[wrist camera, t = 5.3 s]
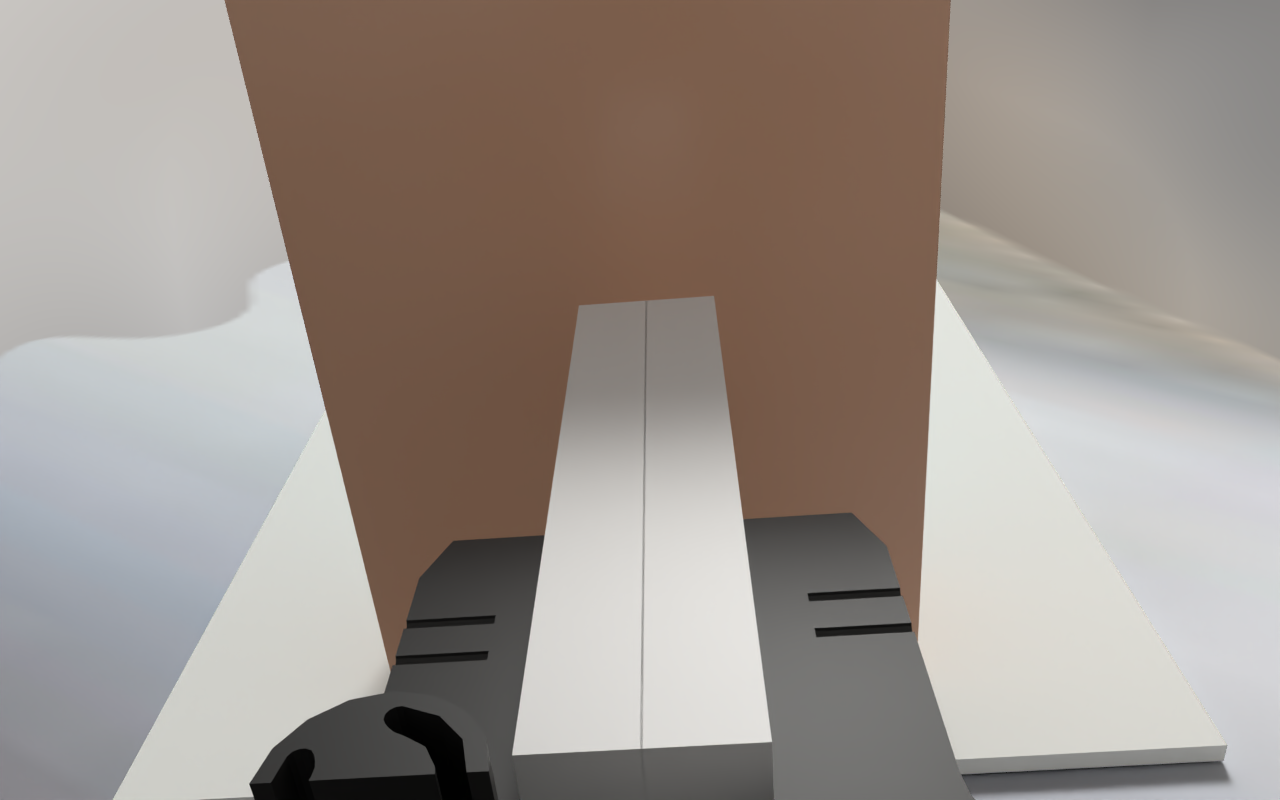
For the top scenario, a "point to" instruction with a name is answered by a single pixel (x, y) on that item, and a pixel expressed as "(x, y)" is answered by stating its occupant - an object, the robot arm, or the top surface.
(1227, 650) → the top surface
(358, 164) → the block
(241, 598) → the mat
